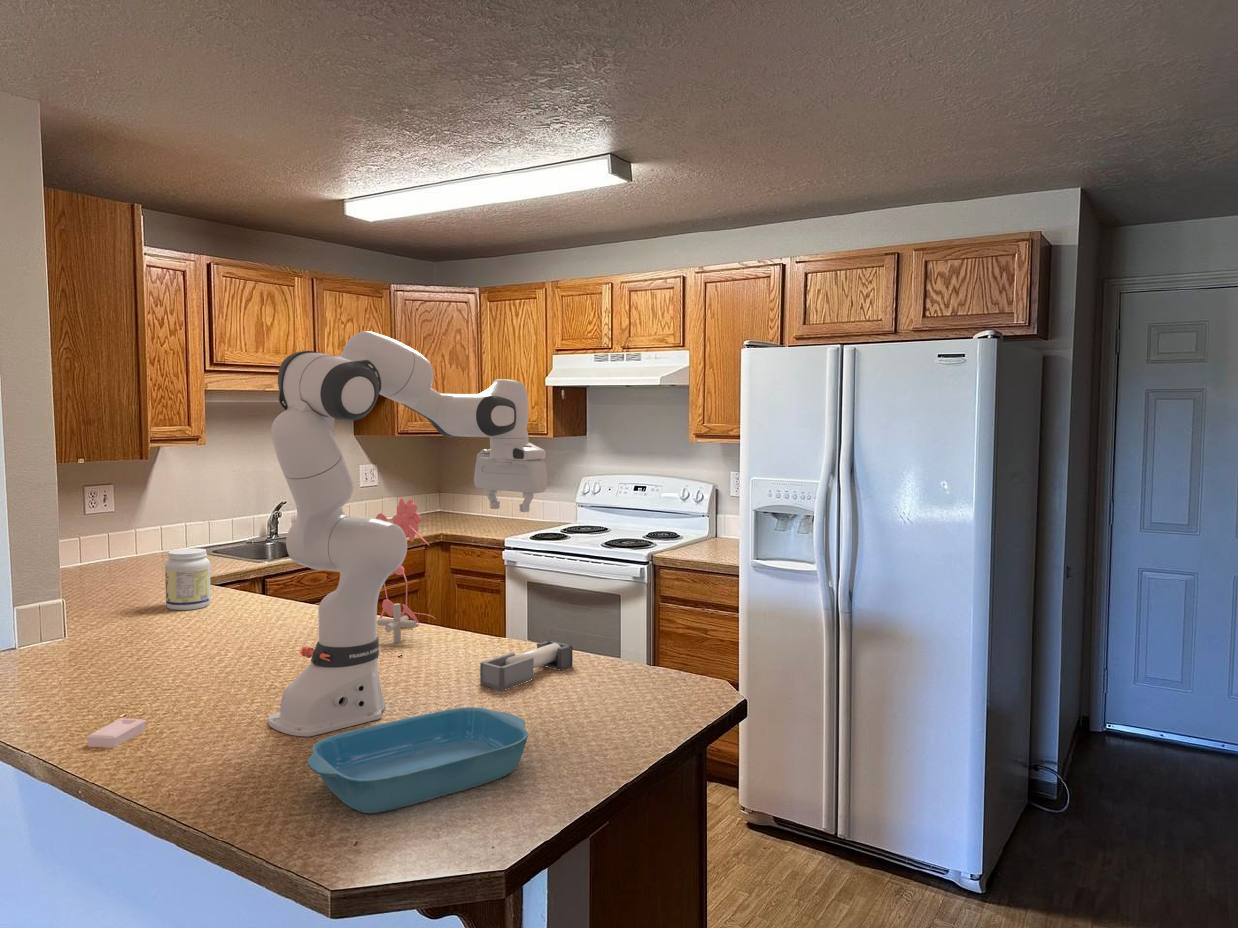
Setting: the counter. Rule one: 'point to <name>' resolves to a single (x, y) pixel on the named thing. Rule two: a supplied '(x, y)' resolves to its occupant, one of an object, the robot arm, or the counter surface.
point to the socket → (560, 655)
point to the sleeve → (505, 672)
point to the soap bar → (116, 733)
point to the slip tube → (538, 655)
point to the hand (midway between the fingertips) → (509, 510)
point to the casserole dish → (419, 757)
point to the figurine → (408, 523)
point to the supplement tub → (187, 579)
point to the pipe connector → (397, 623)
